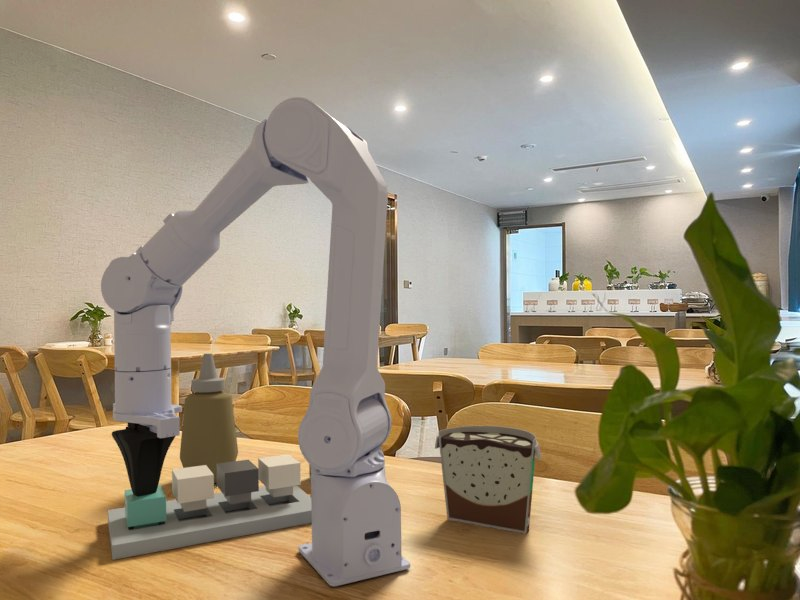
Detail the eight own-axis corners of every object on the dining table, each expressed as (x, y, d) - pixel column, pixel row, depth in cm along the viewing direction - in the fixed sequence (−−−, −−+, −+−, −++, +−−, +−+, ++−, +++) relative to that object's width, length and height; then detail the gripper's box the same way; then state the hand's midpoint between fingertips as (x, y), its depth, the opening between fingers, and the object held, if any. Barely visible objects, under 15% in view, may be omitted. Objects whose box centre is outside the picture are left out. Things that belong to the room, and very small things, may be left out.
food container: (556, 518, 70) (555, 430, 70) (540, 536, 64) (538, 441, 64) (458, 502, 76) (457, 421, 76) (435, 517, 71) (434, 430, 71)
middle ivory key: (214, 508, 68) (213, 474, 68) (178, 514, 66) (177, 479, 66) (206, 497, 72) (206, 465, 72) (172, 502, 70) (172, 469, 70)
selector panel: (324, 520, 70) (324, 508, 70) (112, 559, 60) (112, 545, 60) (292, 492, 81) (292, 481, 81) (108, 522, 70) (107, 509, 71)
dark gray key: (258, 501, 70) (258, 468, 70) (225, 507, 68) (224, 473, 68) (248, 490, 74) (248, 459, 74) (216, 495, 73) (216, 463, 73)
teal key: (166, 531, 66) (166, 496, 66) (127, 538, 64) (127, 502, 64) (161, 518, 70) (161, 485, 70) (125, 524, 68) (124, 490, 68)
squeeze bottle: (167, 486, 84) (165, 356, 85) (200, 470, 92) (198, 351, 92) (220, 489, 82) (218, 356, 83) (248, 473, 90) (247, 351, 90)
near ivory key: (300, 494, 72) (300, 462, 72) (269, 500, 71) (268, 467, 71) (288, 484, 77) (288, 454, 77) (258, 489, 75) (258, 458, 75)
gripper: (207, 371, 64) (208, 500, 64) (155, 362, 75) (156, 473, 75) (138, 377, 60) (140, 516, 59) (93, 367, 70) (94, 485, 70)
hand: (144, 493), depth 67 cm, fingers closed, pressing on teal key
